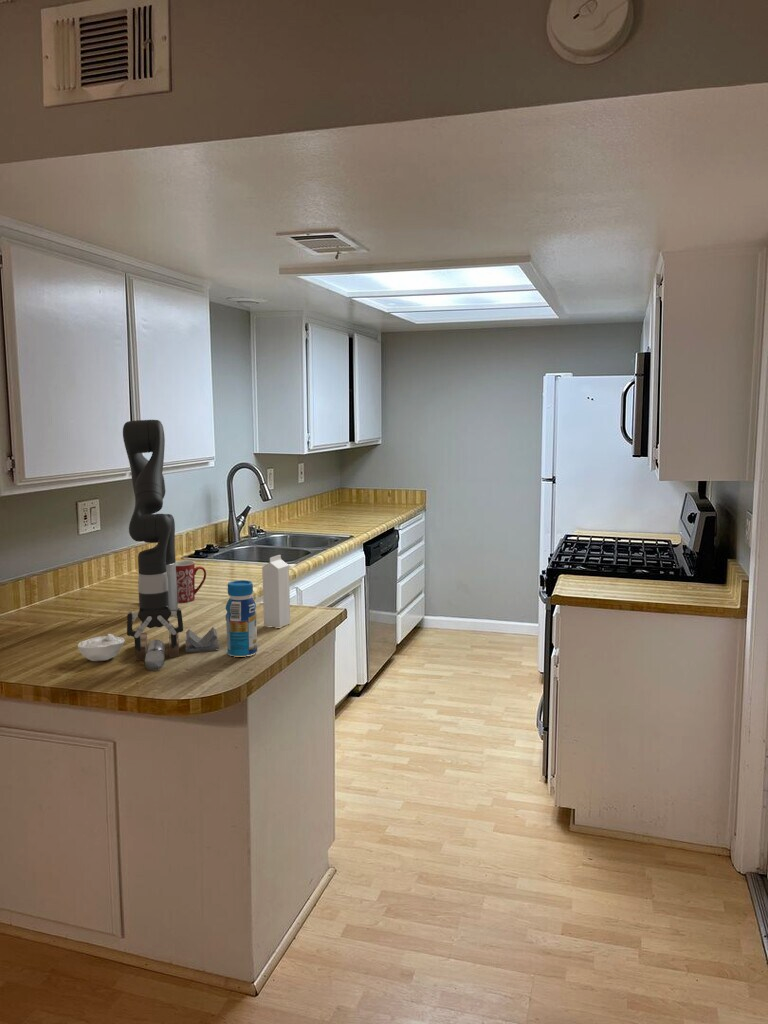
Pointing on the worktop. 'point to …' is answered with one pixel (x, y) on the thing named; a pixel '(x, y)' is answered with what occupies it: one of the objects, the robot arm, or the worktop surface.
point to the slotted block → (142, 654)
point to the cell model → (101, 647)
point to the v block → (201, 641)
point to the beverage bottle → (241, 619)
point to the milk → (276, 592)
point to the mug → (187, 580)
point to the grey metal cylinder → (155, 655)
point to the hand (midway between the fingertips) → (156, 649)
